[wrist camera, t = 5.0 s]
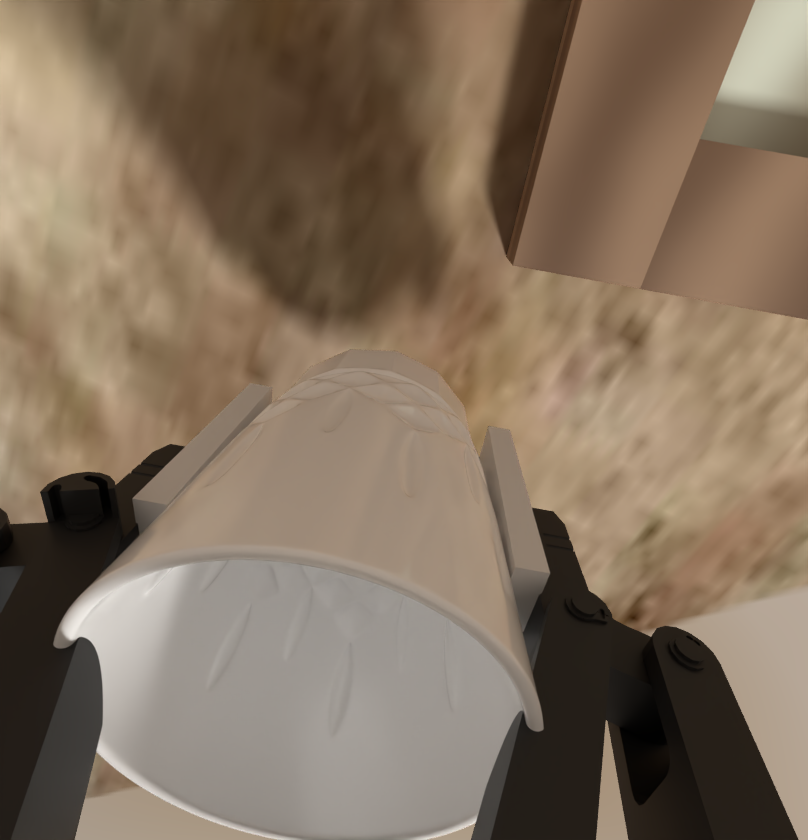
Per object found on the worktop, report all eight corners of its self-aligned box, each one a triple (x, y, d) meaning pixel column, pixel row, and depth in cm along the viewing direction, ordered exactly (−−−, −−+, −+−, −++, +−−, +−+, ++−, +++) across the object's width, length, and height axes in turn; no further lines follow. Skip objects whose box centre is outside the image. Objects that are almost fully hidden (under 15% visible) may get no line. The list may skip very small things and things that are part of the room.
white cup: (433, 288, 14) (417, 466, 5) (516, 486, 17) (602, 823, 8) (225, 383, 16) (-62, 632, 7) (333, 544, 19) (234, 866, 10)
